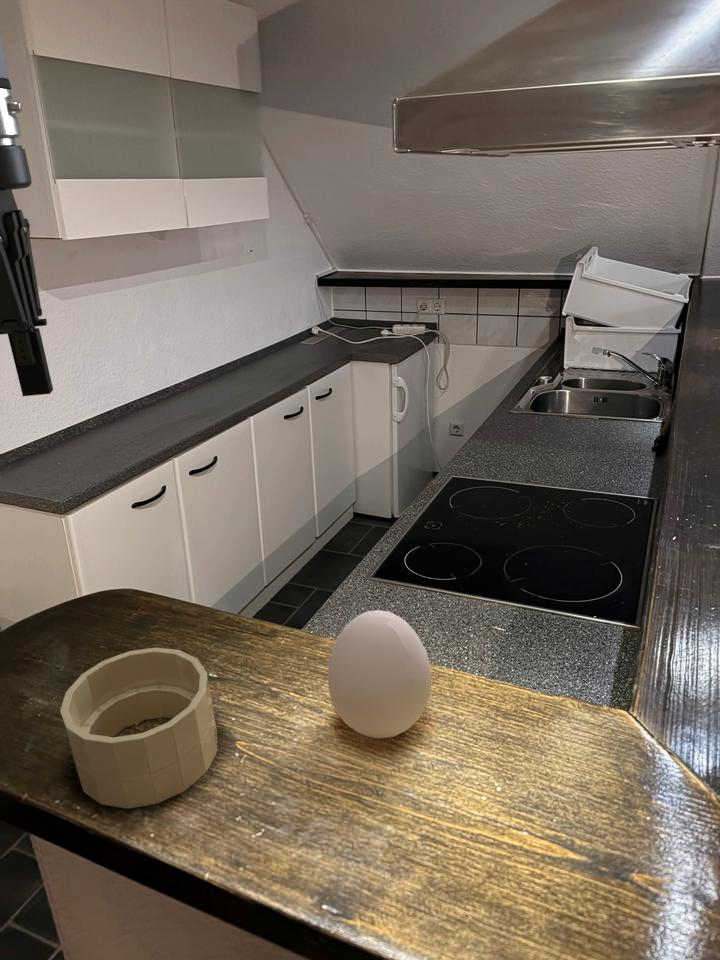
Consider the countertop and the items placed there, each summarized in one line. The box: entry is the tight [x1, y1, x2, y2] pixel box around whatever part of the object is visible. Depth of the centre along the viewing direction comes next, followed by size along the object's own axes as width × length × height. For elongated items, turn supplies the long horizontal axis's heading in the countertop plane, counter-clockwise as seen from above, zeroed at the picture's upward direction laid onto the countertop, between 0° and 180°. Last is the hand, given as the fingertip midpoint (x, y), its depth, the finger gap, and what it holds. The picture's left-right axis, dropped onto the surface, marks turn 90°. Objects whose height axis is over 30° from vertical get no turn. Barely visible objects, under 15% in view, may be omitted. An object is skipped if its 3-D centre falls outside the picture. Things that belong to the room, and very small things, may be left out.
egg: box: [327, 609, 432, 740], centre depth 64 cm, size 9×9×11 cm
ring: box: [59, 647, 218, 809], centre depth 62 cm, size 11×11×8 cm
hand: (38, 392), depth 79 cm, fingers closed
